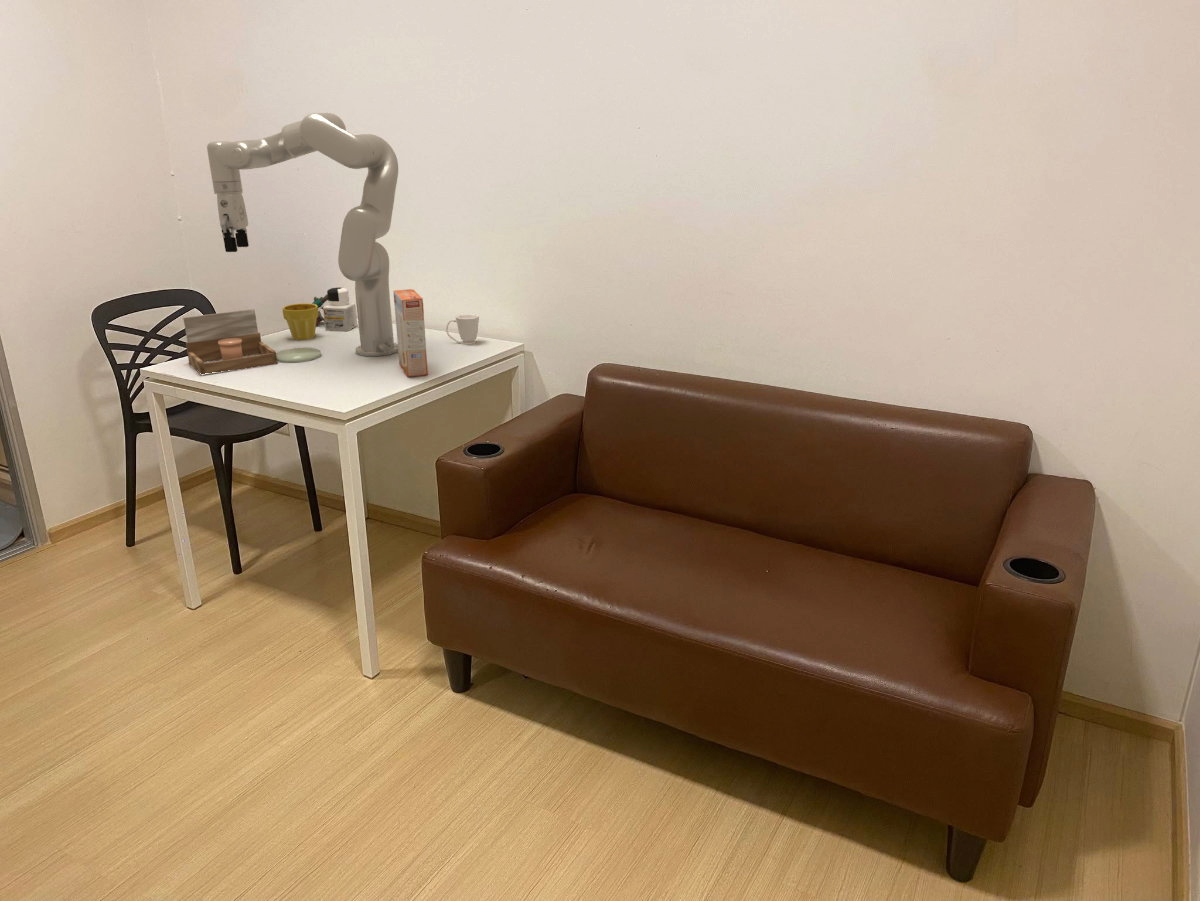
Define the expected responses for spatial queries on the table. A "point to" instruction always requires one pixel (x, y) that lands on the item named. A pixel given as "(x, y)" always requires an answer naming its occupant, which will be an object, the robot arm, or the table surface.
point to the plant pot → (301, 320)
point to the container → (339, 311)
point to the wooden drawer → (223, 326)
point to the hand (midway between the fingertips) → (237, 249)
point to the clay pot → (230, 348)
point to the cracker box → (410, 332)
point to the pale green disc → (298, 355)
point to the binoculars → (319, 303)
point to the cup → (466, 328)
